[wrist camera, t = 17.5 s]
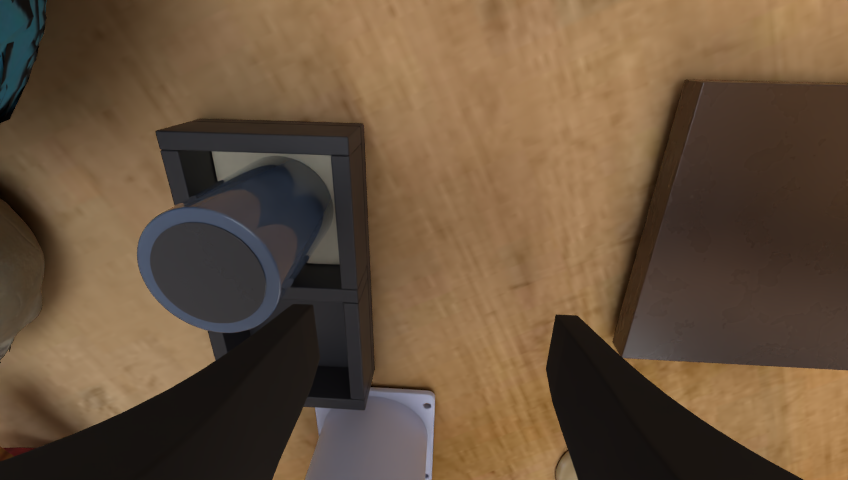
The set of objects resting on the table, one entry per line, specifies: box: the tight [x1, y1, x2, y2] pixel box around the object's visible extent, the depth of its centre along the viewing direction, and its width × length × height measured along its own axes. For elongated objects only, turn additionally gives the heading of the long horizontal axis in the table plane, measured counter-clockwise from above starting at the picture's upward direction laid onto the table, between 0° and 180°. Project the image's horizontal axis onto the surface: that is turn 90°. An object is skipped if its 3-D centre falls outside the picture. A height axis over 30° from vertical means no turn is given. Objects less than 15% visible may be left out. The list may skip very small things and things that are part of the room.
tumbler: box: [137, 156, 333, 333], centre depth 17 cm, size 5×5×7 cm
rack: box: [156, 119, 375, 410], centre depth 21 cm, size 15×8×3 cm, turn 179°
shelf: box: [612, 80, 848, 370], centre depth 19 cm, size 14×12×2 cm
